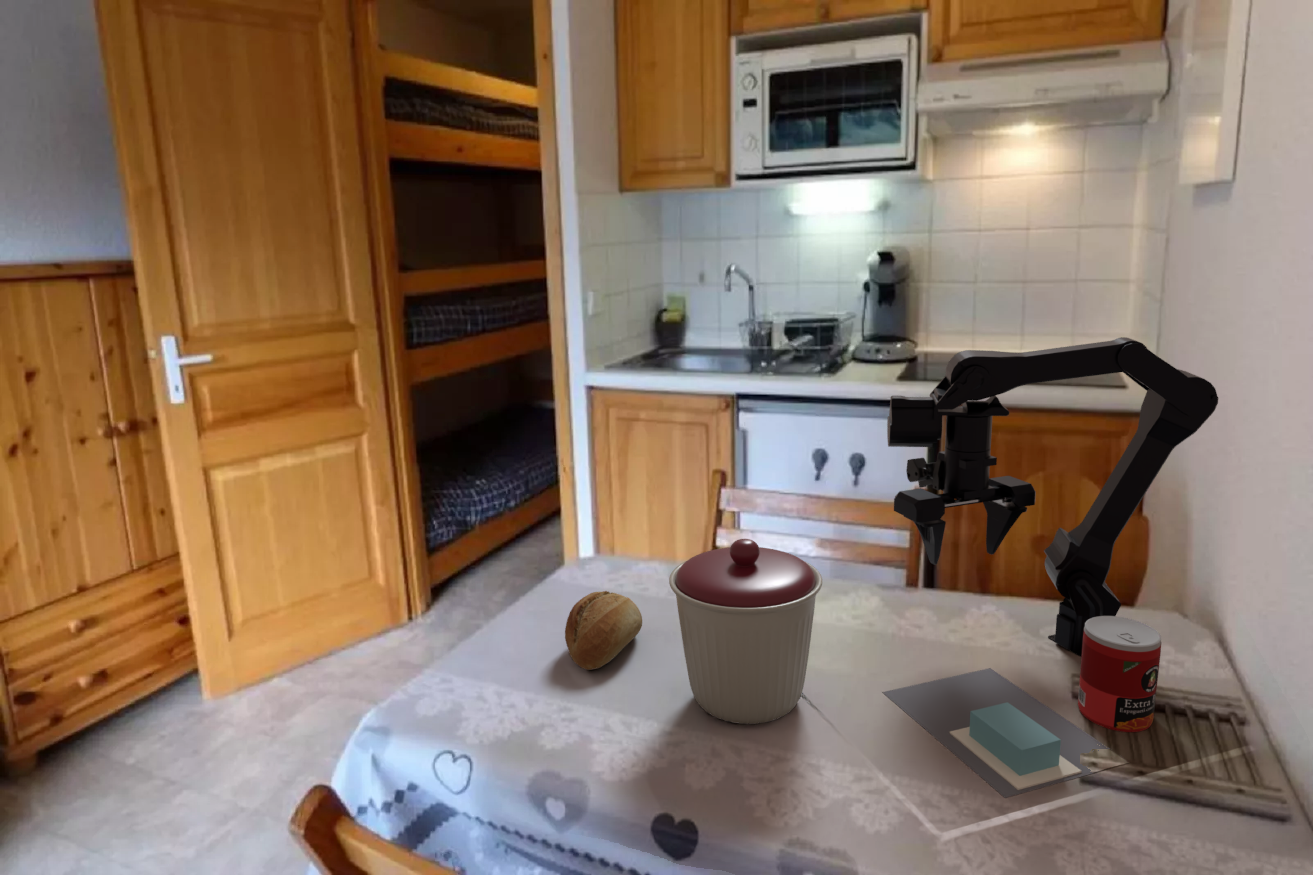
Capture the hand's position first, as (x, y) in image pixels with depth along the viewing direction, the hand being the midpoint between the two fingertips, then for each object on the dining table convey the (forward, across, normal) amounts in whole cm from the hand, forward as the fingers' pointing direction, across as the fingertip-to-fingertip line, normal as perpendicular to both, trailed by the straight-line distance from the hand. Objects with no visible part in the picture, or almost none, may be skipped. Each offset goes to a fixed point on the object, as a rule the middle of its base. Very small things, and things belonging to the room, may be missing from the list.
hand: (962, 558), depth 118 cm
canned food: (+12, -4, +23) cm, 26 cm away
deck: (+11, +12, +25) cm, 30 cm away
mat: (+12, +10, +20) cm, 25 cm away
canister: (+12, +34, +4) cm, 36 cm away
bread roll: (+12, +47, -16) cm, 51 cm away
